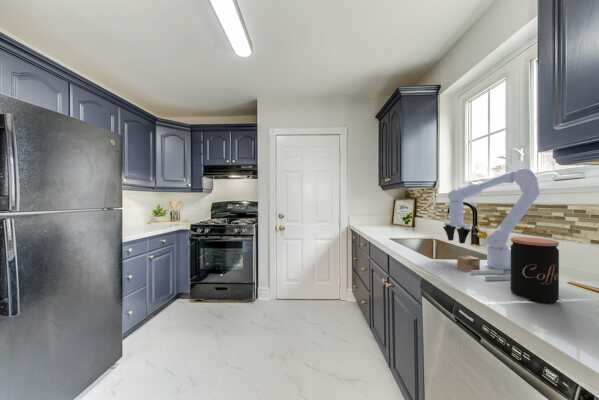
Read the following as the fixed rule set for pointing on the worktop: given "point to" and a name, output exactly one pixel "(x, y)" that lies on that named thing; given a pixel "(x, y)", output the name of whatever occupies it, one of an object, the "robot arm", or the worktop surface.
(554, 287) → the coffee jar
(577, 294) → the worktop surface
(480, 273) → the acrylic channel
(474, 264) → the walnut block
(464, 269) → the terracotta tile
